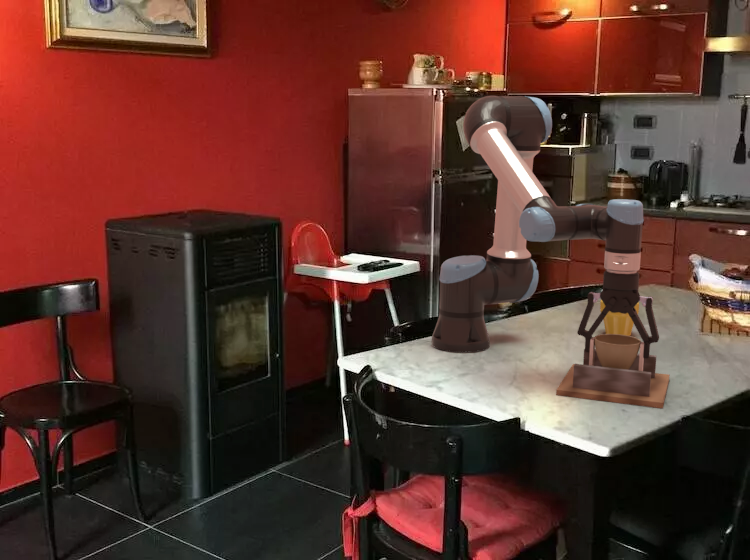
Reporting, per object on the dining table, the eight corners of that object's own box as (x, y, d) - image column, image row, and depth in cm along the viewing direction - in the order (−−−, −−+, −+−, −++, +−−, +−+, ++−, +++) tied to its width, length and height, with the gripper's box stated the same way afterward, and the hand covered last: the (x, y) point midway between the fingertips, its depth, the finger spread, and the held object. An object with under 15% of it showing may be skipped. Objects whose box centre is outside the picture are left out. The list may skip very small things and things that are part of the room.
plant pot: (596, 337, 236) (598, 302, 235) (601, 329, 246) (603, 295, 244) (635, 341, 233) (637, 306, 231) (638, 332, 242) (640, 298, 240)
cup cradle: (556, 395, 186) (557, 367, 185) (572, 368, 206) (574, 343, 205) (662, 408, 178) (664, 379, 177) (669, 379, 198) (671, 353, 197)
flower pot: (614, 378, 184) (616, 346, 183) (583, 367, 193) (584, 336, 192) (648, 373, 189) (650, 341, 188) (616, 362, 198) (618, 331, 196)
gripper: (566, 269, 188) (561, 367, 192) (675, 277, 179) (667, 379, 183) (572, 264, 195) (567, 359, 199) (677, 271, 186) (670, 370, 190)
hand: (615, 369), depth 191 cm, fingers closed on flower pot, 10 cm apart
